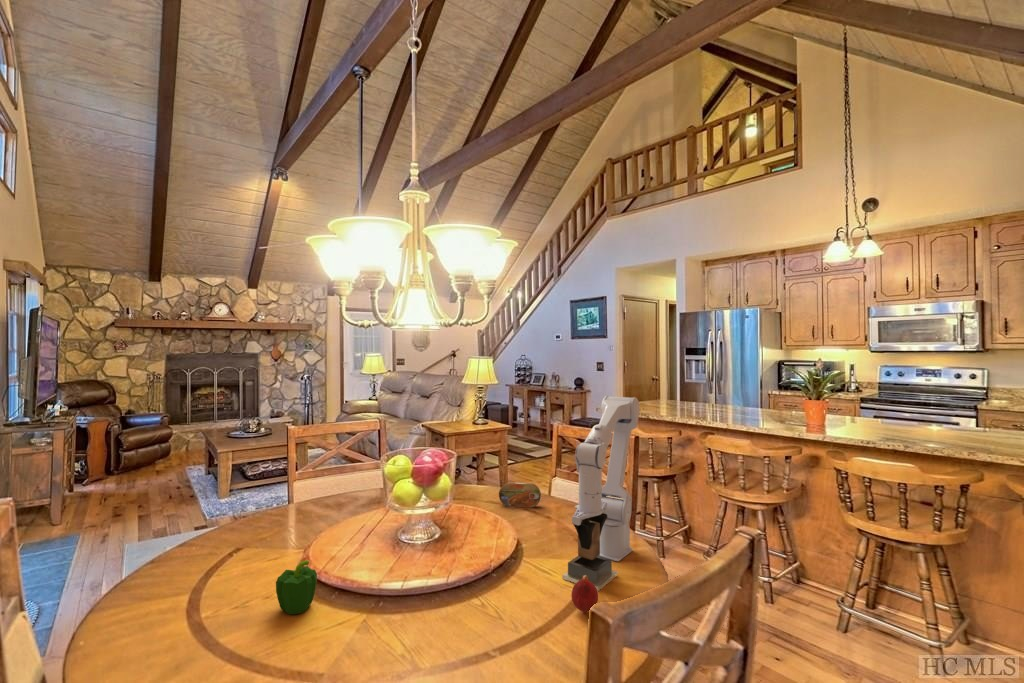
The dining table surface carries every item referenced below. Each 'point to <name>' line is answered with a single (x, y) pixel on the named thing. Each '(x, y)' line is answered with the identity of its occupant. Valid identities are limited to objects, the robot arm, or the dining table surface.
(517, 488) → the tin
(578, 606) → the onion
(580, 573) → the grey square socket
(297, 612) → the bell pepper
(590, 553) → the rail post
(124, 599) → the dining table surface
